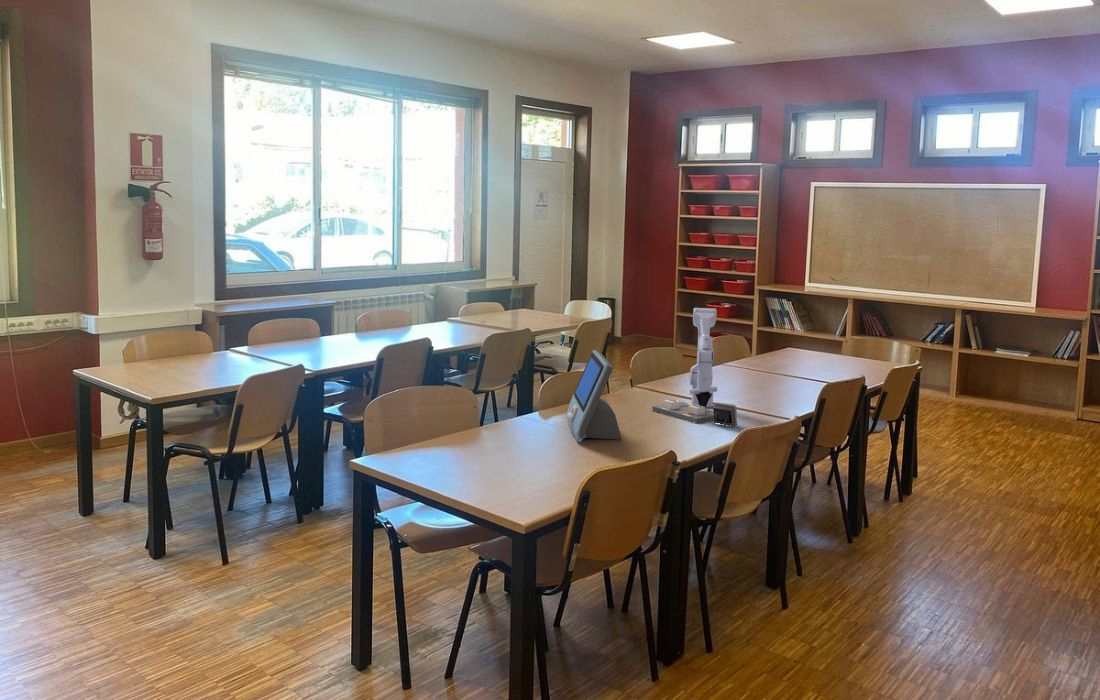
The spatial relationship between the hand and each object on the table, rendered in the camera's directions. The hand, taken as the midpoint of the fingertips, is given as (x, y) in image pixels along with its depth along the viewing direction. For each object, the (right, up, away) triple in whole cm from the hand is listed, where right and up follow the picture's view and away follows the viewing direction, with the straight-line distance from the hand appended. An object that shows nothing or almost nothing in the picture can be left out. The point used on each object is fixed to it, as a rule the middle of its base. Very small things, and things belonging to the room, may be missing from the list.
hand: (702, 409), depth 363 cm
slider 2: (-3, -1, -2) cm, 4 cm away
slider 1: (-12, 0, +7) cm, 14 cm away
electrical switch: (+7, -6, -12) cm, 15 cm away
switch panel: (-5, -2, +5) cm, 7 cm away
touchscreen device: (-48, -7, -28) cm, 56 cm away
